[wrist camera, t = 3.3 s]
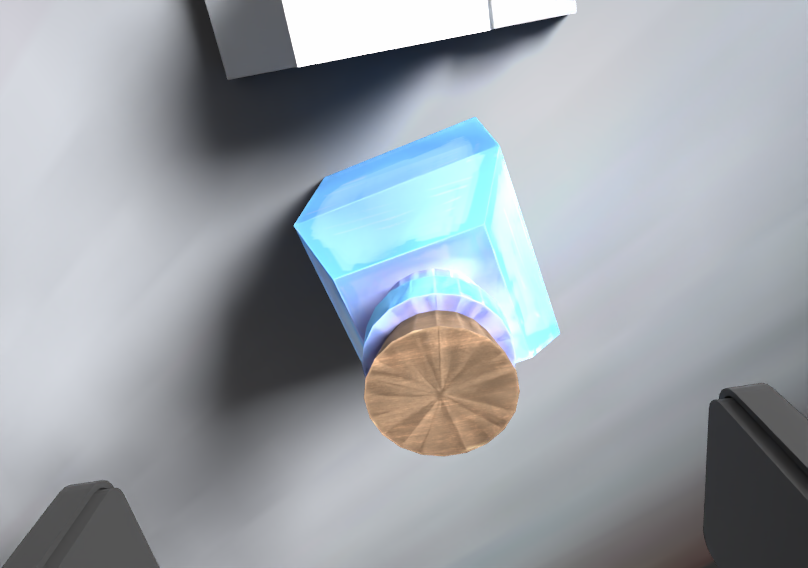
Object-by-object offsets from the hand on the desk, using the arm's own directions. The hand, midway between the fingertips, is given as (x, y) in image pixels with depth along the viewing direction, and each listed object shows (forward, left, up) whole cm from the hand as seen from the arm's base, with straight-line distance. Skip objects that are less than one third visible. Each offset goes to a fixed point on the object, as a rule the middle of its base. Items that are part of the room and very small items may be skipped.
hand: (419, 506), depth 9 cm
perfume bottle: (0, -1, -15) cm, 15 cm away
